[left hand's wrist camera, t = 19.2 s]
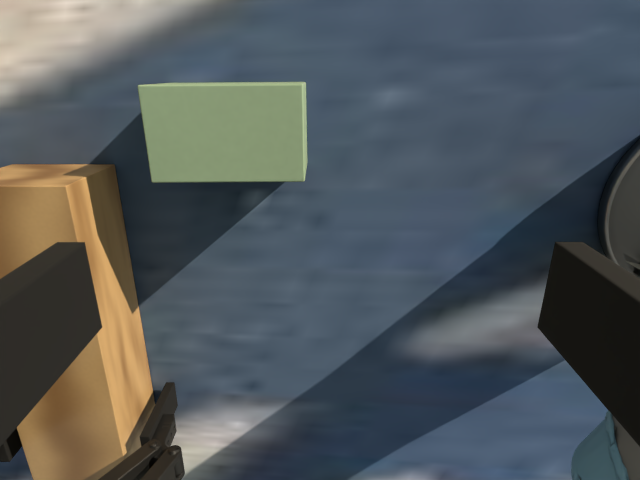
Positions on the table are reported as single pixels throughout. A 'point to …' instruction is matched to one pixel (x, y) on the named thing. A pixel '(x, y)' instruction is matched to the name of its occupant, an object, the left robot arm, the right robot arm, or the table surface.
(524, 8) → the table surface
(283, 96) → the sage cap block
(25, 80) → the table surface
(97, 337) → the wooden block
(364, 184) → the table surface
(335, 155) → the table surface
